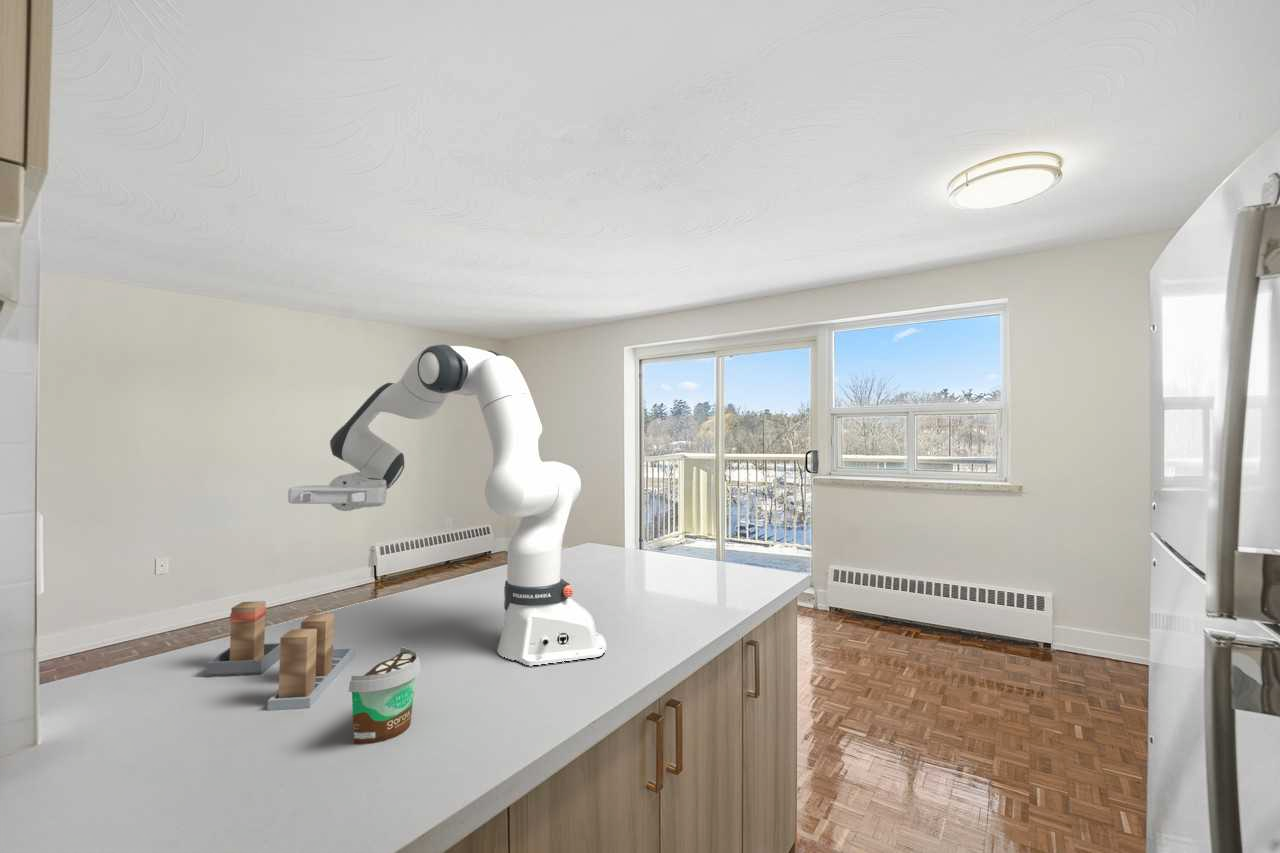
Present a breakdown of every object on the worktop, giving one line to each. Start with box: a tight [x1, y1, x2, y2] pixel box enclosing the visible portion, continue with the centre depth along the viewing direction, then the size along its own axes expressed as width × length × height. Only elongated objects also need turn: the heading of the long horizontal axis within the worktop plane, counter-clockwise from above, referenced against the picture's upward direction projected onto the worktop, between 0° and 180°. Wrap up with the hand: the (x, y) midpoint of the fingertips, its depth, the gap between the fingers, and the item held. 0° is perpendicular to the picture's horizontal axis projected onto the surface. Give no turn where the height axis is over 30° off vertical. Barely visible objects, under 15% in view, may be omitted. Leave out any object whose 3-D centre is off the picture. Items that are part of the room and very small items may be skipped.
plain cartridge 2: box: [300, 613, 335, 677], centre depth 101 cm, size 4×4×11 cm
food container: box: [348, 646, 422, 745], centre depth 84 cm, size 12×6×10 cm, turn 168°
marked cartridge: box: [229, 600, 267, 661], centre depth 106 cm, size 4×4×11 cm
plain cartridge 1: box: [278, 628, 317, 698], centre depth 93 cm, size 4×4×11 cm
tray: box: [205, 642, 280, 678], centre depth 106 cm, size 9×9×2 cm
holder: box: [266, 647, 356, 711], centre depth 101 cm, size 6×22×2 cm, turn 10°
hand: (327, 498), depth 123 cm, fingers open, 8 cm apart
